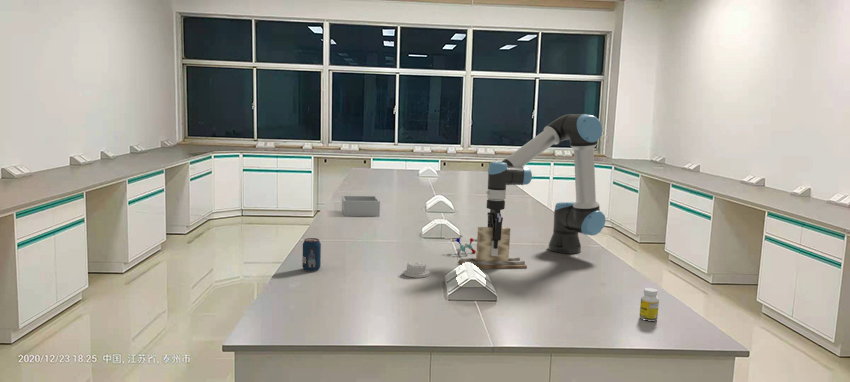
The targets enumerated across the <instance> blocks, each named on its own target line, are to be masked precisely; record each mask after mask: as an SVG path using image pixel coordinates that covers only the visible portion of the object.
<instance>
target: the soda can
mask: <svg viewBox="0 0 850 382" xmlns="http://www.w3.org/2000/svg"><path fill="white" fill-rule="evenodd" d="M321 247H322V243H321V241H320V239H319V238H314V237H309V238H305V239H304V241H303V242H302V260H301V261H302V263H301V264H302V265H301V267H302V269H303V271H305V272H310V273H311V272H318V271H319V270H320V269H321V259H322V257H321V256H322V255H321V254H322V253H321V251H322V249H321Z"/></svg>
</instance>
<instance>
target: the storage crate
mask: <svg viewBox="0 0 850 382" xmlns="http://www.w3.org/2000/svg"><path fill="white" fill-rule="evenodd" d="M380 208H381V201H380V200H379V198H378V197H377V196H376V195H375V196H374V195H341V212H343V213H342V215H343V217H380V212H381V209H380Z"/></svg>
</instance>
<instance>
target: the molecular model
mask: <svg viewBox="0 0 850 382" xmlns="http://www.w3.org/2000/svg"><path fill="white" fill-rule="evenodd" d="M461 238H463V234H459V237H458V238H456V239H451V242H452V243H454V242H457V243H459V245H460V246H459V248H456V252H457V253H458V254H461V251H462V252H464V255H465V257H468V256H469V255H468V253H467V251H466V248H468V250H469V249H470V251H471V252H472V254H477V250H476V249H474V248H473V246H472V242H476V243H477V238H476V239H475V238H473V237H471V238H470V239H469V243H467V242H466V243H465V245H463V244H462V243H461Z"/></svg>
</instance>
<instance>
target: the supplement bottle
mask: <svg viewBox="0 0 850 382" xmlns="http://www.w3.org/2000/svg"><path fill="white" fill-rule="evenodd" d="M643 293H644V294H642V295H641V298H640V308H639V319H640V318H642V319H645V320H648V321H655V320H657V321H658V316H659V303H660V298H659V297H658V296H657V295H658V290H657V289H656V288H652V287H645V288H644V289H643ZM642 319H641V320H642ZM648 321H647V322H648ZM655 322H656V321H655Z"/></svg>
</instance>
